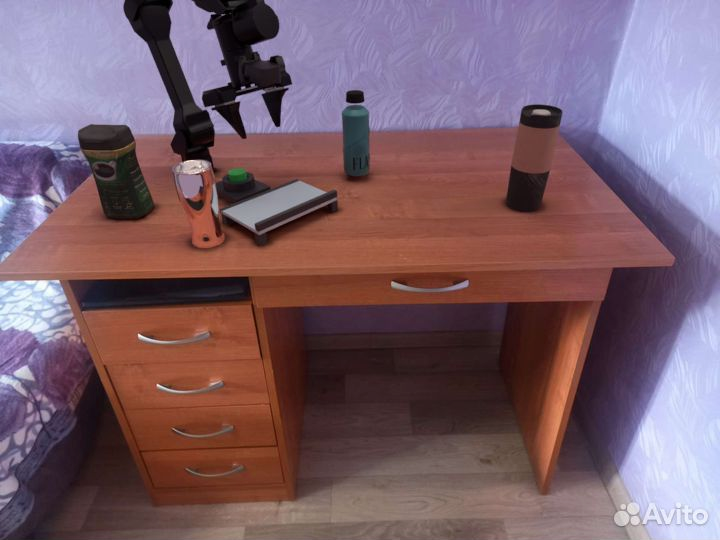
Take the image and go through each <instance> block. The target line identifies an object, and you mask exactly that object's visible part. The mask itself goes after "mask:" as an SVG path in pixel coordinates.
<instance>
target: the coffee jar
mask: <svg viewBox="0 0 720 540" xmlns="http://www.w3.org/2000/svg"><path fill="white" fill-rule="evenodd" d="M77 140H78V144H79V149H80V151H81V153H82V154H83V156H84V158H86V160H87V162H88V164H89V167H90V170H91V172H92V175H93V180H94V183H95V185H96V189H97V192H98V197H99V201H100V205H101V208H102V211H103V214H104V215H105V216H106V217H108V218H111V219H122V220H123V219H124V220H125V219H126V220H128V219H129V220H131V219H138V218H140V217H143V216H145V215H148V214H149V213H150V212H151V211H152V210H153V209H154V206H155V202H154V199H153V196H152V194H151V191H150V189H149V187H148V183H147V182H146V179H145V176H144V173H143V171H142V168H141V166H140V163H139V161H138V157H137V156H138V155H137V150H136V148H137V141H136V139H135V136H134V134H133V132H132V129H131V128H130V127H129V125H127V124H93V123H91V124H88V125H86V126H84V127H82V128H80V129H79V130H78V131H77Z"/></svg>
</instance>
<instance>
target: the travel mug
mask: <svg viewBox="0 0 720 540" xmlns="http://www.w3.org/2000/svg"><path fill="white" fill-rule="evenodd" d="M562 117H563V109H561V108H560V107H558V106H554V105H549V104H538V103H537V104H535V103H534V104H527V105H524V106H522V108H521V111H520V117H519V121H518V126H517V131H516V137H515V143H514V148H513V153H512V159H511V165H510V171H509V178H508V186H507V191H506V199H505V203H506V205H507V207H508V208H510V209H512V210H514V211H518V212H523V213H531V212H535V211H538V210H539V209H540V208H541V205H542V203H543V198H544V194H545V192H546V187H547V183H548V180H549V176H550V172H551V168H552V164H553V159H554V154H555V150H556V144H557V141H558V136H559V131H560V128H561V127H560V126H561V122H562Z"/></svg>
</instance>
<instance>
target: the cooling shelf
mask: <svg viewBox="0 0 720 540" xmlns="http://www.w3.org/2000/svg"><path fill="white" fill-rule="evenodd" d="M338 203H339V202H338V191H337V190H336V189H332V190H329V191H324V190H322V189H320V188H318V187H315V186H313V185H311V184H309V183H307V182H304V181H301V180H300V179H298V178H296V179H293V180H290V181H288V182H286V183H283V184H280V185H278V186H275V187H273V188H271V189H270V190H267V191H265V192H262V193H260V194H257V195H254V196H252V197H249V198H247V199H244V200H241V201H239V202H236V203H234V204H229V205H226V206H224V207H221V208H219V214H220V215H221V219H222V224H223V225H226V226H230V225H232V224H234V223H235V222H236V223H237V224H239V225H241V226H243V227H244V228H246V229H248V230H250V231H251V232H253V234H254V239H255V244H256V245H258V246H260V247H262V246H264V245H266V244H268V237H267V232H269V231H272V230H274V229H276V228H278V227H280V226H283V225H285V224H287V223H289V222H291V221H294V220H297V219H298V218H301V217H302V216H305V215H307V214H309V213H311V212H314V211H316V210H318V209H321V208H323V207H325V206H326V207H327V211H328V212H330V213H332V214H333V213H335V212H337V211H338V210H339V205H338Z"/></svg>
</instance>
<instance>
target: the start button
mask: <svg viewBox="0 0 720 540" xmlns="http://www.w3.org/2000/svg"><path fill="white" fill-rule="evenodd" d="M246 172H247V169H245V168H241V167H238V168H237V167H235V168H232V169H229V170H228V172H227V174H228V177H229V181H231V182H239V181H244V180H246V179H247V173H246Z"/></svg>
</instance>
